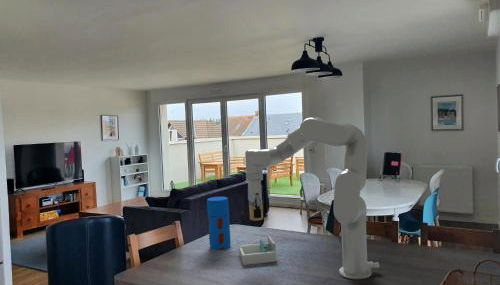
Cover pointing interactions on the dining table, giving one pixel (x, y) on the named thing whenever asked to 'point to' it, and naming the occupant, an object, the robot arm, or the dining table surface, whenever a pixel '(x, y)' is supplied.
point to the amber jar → (251, 211)
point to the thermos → (218, 223)
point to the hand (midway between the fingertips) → (256, 215)
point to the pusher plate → (263, 246)
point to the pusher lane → (258, 253)
